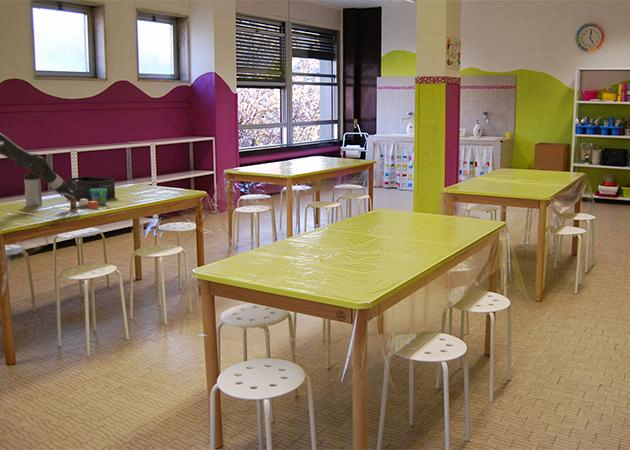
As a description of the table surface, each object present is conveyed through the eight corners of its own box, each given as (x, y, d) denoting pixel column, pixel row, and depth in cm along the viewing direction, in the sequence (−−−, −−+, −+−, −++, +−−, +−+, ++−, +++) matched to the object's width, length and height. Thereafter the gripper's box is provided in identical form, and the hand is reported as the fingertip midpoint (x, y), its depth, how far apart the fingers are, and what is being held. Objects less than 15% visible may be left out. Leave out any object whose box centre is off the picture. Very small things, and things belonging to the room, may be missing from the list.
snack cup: (109, 206, 427) (108, 190, 425) (92, 207, 422) (91, 191, 420) (106, 202, 441) (105, 187, 438) (89, 203, 436) (88, 188, 434)
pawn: (68, 210, 407) (66, 193, 405) (74, 208, 411) (73, 192, 409) (73, 210, 405) (71, 194, 403) (79, 209, 409) (78, 193, 407)
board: (57, 210, 412) (56, 202, 411) (79, 206, 425) (78, 198, 424) (77, 213, 402) (76, 205, 401) (99, 209, 415) (98, 201, 414)
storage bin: (117, 197, 460) (116, 178, 458) (96, 201, 444) (95, 181, 441) (86, 194, 473) (85, 176, 470) (65, 198, 456) (63, 179, 453)
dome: (76, 205, 416) (76, 199, 415) (84, 204, 420) (84, 198, 420) (82, 206, 413) (82, 200, 412) (90, 204, 417) (89, 199, 417)
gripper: (46, 187, 399) (64, 203, 410) (61, 189, 391) (79, 205, 403) (53, 177, 402) (71, 194, 414) (68, 179, 394) (86, 196, 406)
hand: (75, 199), depth 408 cm, fingers open, 8 cm apart
